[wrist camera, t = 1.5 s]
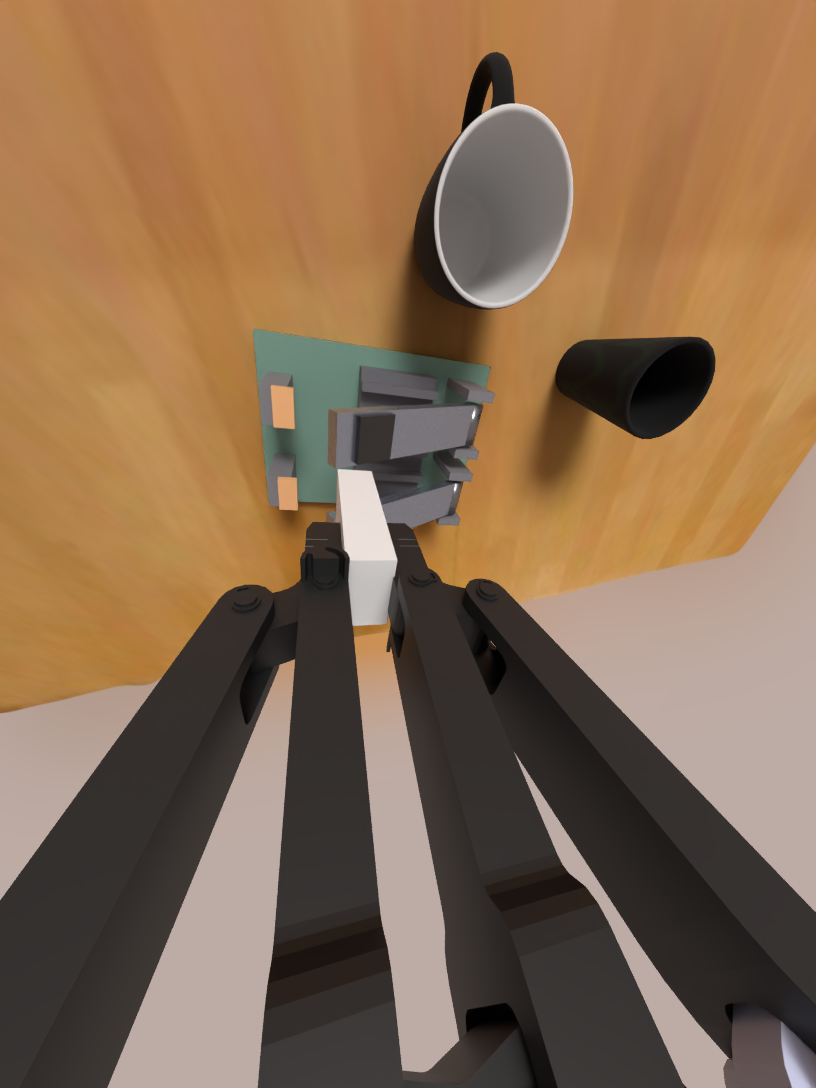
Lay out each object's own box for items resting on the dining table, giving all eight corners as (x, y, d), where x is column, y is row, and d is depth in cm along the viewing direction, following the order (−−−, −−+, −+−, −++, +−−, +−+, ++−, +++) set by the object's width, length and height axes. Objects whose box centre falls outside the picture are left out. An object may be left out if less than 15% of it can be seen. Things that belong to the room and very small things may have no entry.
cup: (534, 395, 37) (607, 426, 28) (571, 316, 33) (671, 321, 24) (586, 413, 40) (668, 448, 30) (626, 342, 36) (736, 356, 26)
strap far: (323, 549, 27) (335, 560, 26) (324, 511, 25) (337, 521, 24) (447, 506, 37) (458, 512, 36) (454, 476, 35) (467, 482, 34)
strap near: (325, 462, 23) (339, 471, 22) (325, 407, 21) (341, 415, 20) (463, 439, 33) (477, 445, 32) (472, 401, 31) (487, 406, 30)
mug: (495, 306, 31) (554, 307, 23) (402, 309, 30) (431, 311, 22) (517, 106, 24) (613, 9, 16) (397, 97, 23) (437, -13, 15)
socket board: (270, 495, 38) (259, 532, 32) (255, 328, 29) (237, 335, 23) (451, 502, 43) (472, 535, 37) (486, 365, 34) (521, 378, 28)
